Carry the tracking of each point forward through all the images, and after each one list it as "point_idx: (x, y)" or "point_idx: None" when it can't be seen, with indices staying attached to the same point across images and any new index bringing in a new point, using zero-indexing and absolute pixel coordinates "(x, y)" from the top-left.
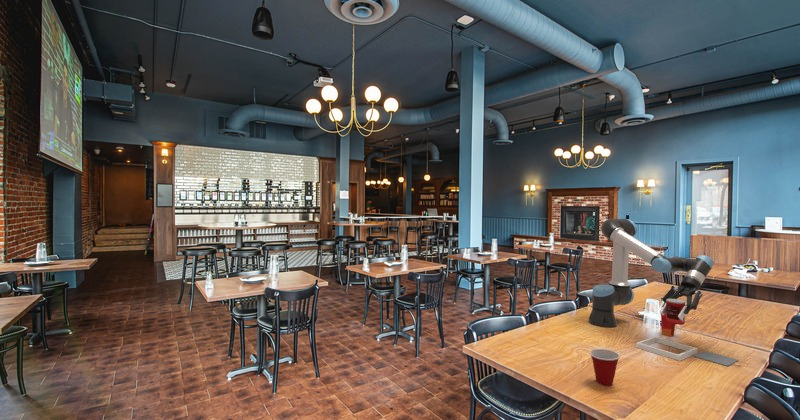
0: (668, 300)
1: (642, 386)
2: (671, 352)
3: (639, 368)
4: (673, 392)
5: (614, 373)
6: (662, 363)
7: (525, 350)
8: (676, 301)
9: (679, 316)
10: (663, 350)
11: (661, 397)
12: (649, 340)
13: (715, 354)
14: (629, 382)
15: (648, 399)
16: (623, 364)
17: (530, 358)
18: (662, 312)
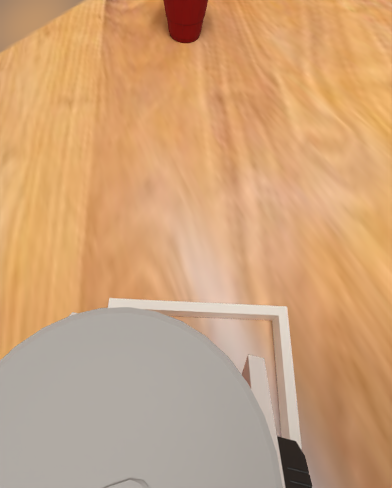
0: (196, 334)
1: (128, 63)
2: (144, 308)
3: (174, 139)
4: (72, 79)
5: (164, 4)
6: (147, 225)
7: (380, 49)
8: (88, 459)
9: (72, 312)
10: (174, 304)
11: (85, 49)
12: (287, 426)
13: None
14: (153, 62)
15: (100, 31)
16: (213, 132)
17: (336, 28)
18: (244, 367)
